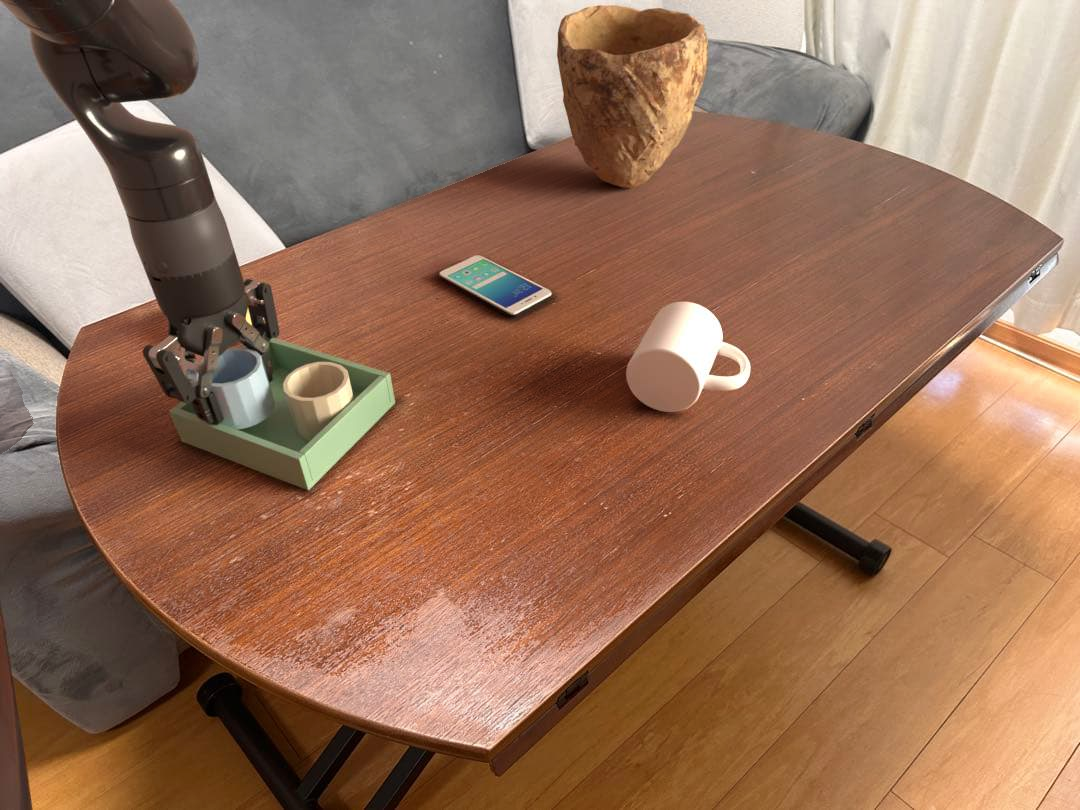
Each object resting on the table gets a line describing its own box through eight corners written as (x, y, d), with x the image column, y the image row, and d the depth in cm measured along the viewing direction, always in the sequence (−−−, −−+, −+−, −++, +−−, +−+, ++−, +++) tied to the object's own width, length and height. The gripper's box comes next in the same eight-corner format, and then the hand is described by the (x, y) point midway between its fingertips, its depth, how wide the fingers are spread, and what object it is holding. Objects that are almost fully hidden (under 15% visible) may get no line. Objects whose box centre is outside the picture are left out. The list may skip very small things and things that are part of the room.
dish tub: (308, 490, 72) (299, 459, 70) (181, 441, 78) (168, 411, 75) (395, 403, 82) (390, 373, 80) (277, 365, 88) (268, 335, 86)
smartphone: (478, 253, 106) (554, 291, 98) (478, 259, 107) (554, 297, 98) (436, 273, 102) (512, 314, 94) (437, 278, 103) (512, 320, 94)
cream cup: (332, 449, 76) (321, 407, 72) (282, 432, 78) (269, 390, 75) (370, 412, 80) (361, 371, 77) (321, 396, 82) (311, 355, 79)
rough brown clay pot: (529, 192, 124) (524, 26, 108) (597, 148, 139) (602, -4, 123) (652, 224, 114) (666, 46, 99) (712, 173, 129) (733, 11, 113)
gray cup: (244, 437, 74) (228, 393, 70) (196, 419, 76) (178, 375, 73) (288, 399, 78) (275, 356, 75) (241, 383, 81) (226, 341, 77)
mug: (623, 402, 82) (627, 341, 77) (650, 353, 89) (655, 294, 84) (734, 430, 78) (746, 368, 73) (753, 376, 85) (765, 316, 80)
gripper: (216, 211, 72) (260, 353, 83) (87, 281, 62) (156, 432, 73) (277, 226, 70) (314, 371, 80) (153, 301, 60) (214, 455, 70)
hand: (239, 400), depth 77 cm, fingers closed on gray cup, 6 cm apart
